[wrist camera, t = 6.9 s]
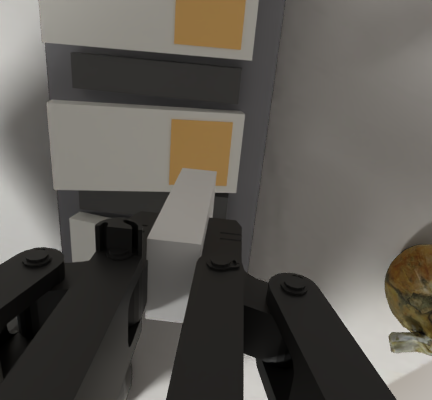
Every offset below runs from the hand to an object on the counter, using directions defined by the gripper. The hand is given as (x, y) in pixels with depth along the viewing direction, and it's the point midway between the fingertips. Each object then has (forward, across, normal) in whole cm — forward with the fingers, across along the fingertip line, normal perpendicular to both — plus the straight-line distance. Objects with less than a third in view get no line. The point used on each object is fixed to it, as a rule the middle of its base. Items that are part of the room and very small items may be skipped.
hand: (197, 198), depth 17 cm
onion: (+12, -17, +9) cm, 23 cm away
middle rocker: (+7, +4, 0) cm, 7 cm away
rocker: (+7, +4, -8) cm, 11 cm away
